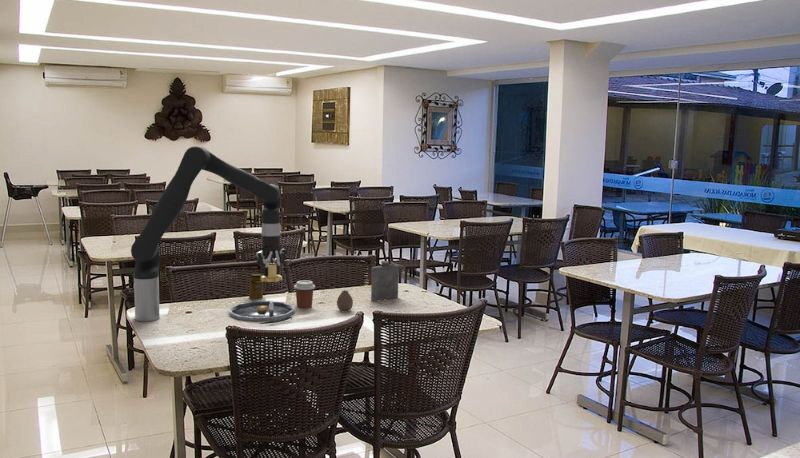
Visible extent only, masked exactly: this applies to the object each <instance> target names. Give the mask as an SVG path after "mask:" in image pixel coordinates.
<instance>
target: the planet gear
mask: <svg viewBox="0 0 800 458" xmlns="http://www.w3.org/2000/svg"><path fill="white" fill-rule="evenodd" d="M261 280H262V281H263V282H267V283H273V282H275V283H276V282H279V281H282V280H283V276H282V275H281V274H279V275H277V264H276V263H274V262H269V264H268V276H267V277H266V276H264V275H262V276H261Z"/></svg>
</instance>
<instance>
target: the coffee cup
mask: <svg viewBox="0 0 800 458" xmlns="http://www.w3.org/2000/svg"><path fill="white" fill-rule="evenodd" d="M293 288H294V289H295V298H296V307H297V308H299V309H312V308H313V299H314V289H315V288H316V285H315V284H314V282H313V281H312V280H305V279H304V280H298V281H296V284H294V285H293Z"/></svg>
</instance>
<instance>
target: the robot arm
mask: <svg viewBox="0 0 800 458" xmlns="http://www.w3.org/2000/svg"><path fill="white" fill-rule="evenodd" d="M177 167H178V168H177V170H176V171H175V174H174V175H173V177H172V178H171V180H170V182H169V183H168V184H167V186H166V187H165V189H164V190H163V192H162V193H161V195H160V198H159V199H158V201H157V202H156V205H155V206H154V208H153V210H152V212H151V214H150V217H149V218H148V220H147V223H146V225H145V227H144V228H143V230H142V231H141V233H140V234H139V236H138V237H136V240H134V242H133V243H132V245H131V248H130V254H131V257H132V258H133V259H134V261H135V263H134V264H135V265H134V270H133V291H134V295H133V296H134V320H135V321H137V322H154V321H157V320H159V319H160V285H159V283H160V282H159V280H160V279H159V271H160V245H159V244H160V241H162V237H163V236H164V234H165V233H166V232H167V230H168V229H169V228H170V227H171V226H172V224H173V223H175V221H176V219H177V218H178V216H179V215H180V213H181V211H182V210H183V207H185V204H186V202H187V200H188V197H189V194H190V190H191V188H192V185H193V183H194V181H195V179H196V178H197V177H198V175H199V174H200V172H201V171H205V172H210V173H211V174H214V175H216V176H219V177H221V178H222V179H224V180H225V181H227V182H228V183H230V184H232V185H234V186H235V187H237V188H239V189H241V190H243V191H245V192H247V193H250V194H252V195H253V196H254V197H257V198H258V199H260V200H261V201H263V207H262V213H261V222H262V223H261V247H262V248H261V250H260V251H258V252H257V251H255V253H254V254H255V258H256V263H257V266H259V267H262V274H263V275H262V276H266V277H267V276H268V264H269V263H271V260H273V263H276V264H277V275H280V269H281V267H280V266H281V265H282V264H283V265H284V263H285V259H286V255H287V252H288V251H287V249H285V248H281V218H280V217H281V216H280V212H281V211H280V208H281V196H282V195H281V193H282V192H281V189H280V187H279V186H278V185H276V184H274V183H270V184H269V183H267V182H266V181H263V180H261V179H260V178H259V177H257V176H256V175H253V174H251V173H250V172H248V171H246V170H243V169H241V168H239V167H237V166H235V165H232V164H230V163H228V162H226V161H224V160H222V159H221V158H220V157H218V156H216V155H215V154H214V153H212V152H211V151H210V150H208V149H207V148H206V147H203V146H201V145H195V146H190V147H189V148H187V149H186V150H185V152H184V154H183V156H182V158H181V161H180V164H179V165H178V166H177Z"/></svg>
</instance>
